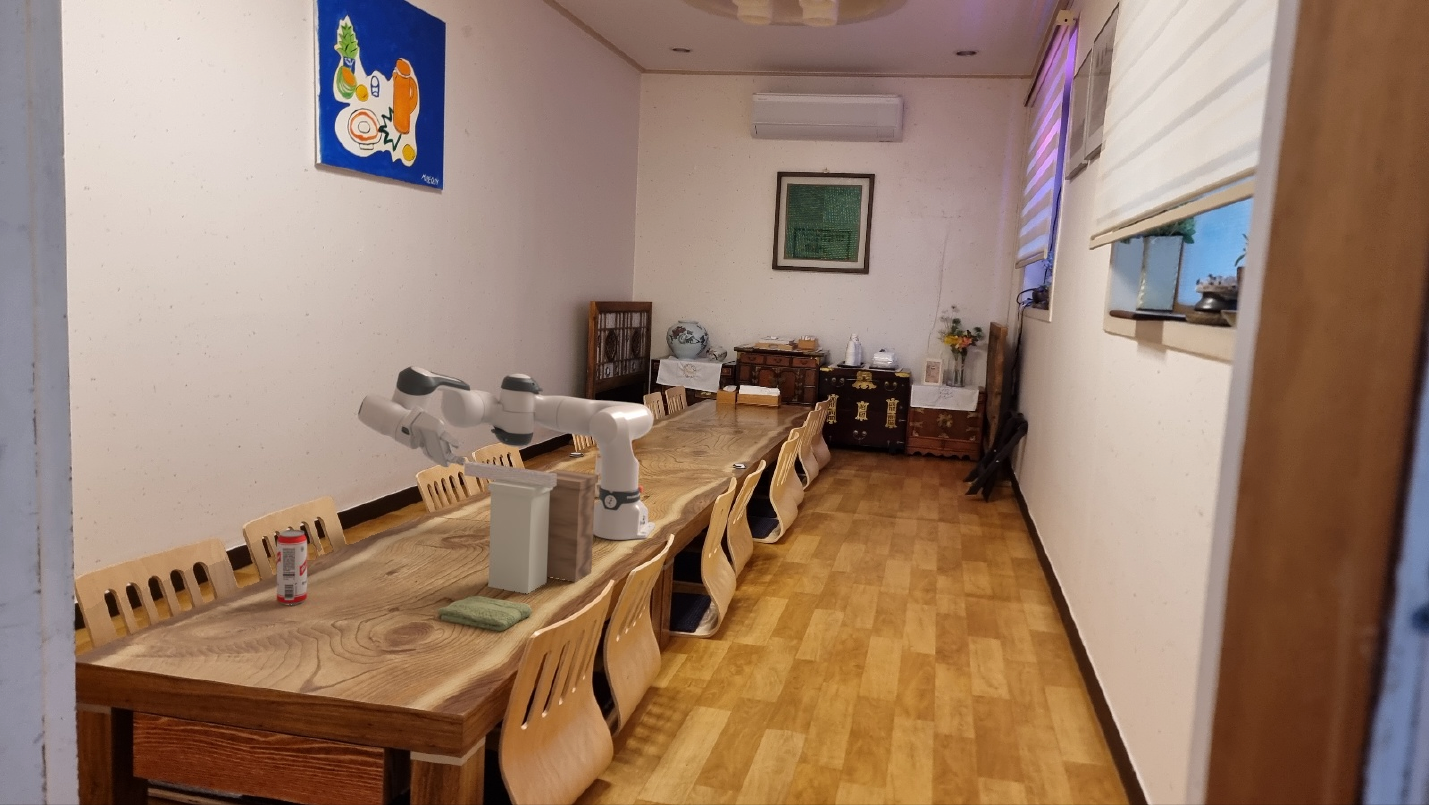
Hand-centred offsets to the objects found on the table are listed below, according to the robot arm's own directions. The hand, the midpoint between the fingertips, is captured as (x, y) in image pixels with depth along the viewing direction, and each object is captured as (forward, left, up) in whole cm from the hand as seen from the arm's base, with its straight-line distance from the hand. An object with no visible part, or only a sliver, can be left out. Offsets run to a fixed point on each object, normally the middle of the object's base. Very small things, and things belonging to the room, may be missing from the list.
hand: (461, 453), depth 243 cm
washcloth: (+27, +25, -30) cm, 48 cm away
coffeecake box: (-94, -3, -30) cm, 99 cm away
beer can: (+39, -18, -30) cm, 52 cm away
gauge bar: (+5, +17, -4) cm, 18 cm away
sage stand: (+5, +20, -30) cm, 36 cm away
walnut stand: (-8, +26, -30) cm, 40 cm away
